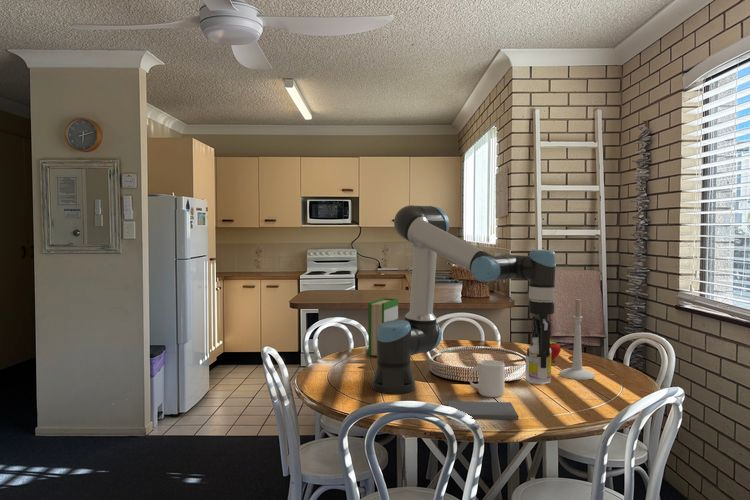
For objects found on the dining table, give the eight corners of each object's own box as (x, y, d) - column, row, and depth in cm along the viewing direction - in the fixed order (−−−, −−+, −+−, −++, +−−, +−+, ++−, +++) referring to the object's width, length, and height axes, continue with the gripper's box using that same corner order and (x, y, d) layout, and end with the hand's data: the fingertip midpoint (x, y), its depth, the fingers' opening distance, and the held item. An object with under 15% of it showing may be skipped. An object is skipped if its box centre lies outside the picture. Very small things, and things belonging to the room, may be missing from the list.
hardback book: (383, 358, 248) (384, 303, 247) (368, 356, 251) (368, 302, 250) (397, 350, 265) (398, 298, 264) (383, 349, 267) (383, 298, 267)
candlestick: (570, 380, 212) (571, 300, 211) (553, 372, 225) (554, 296, 224) (601, 379, 215) (603, 299, 213) (582, 370, 227) (584, 296, 226)
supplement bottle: (546, 376, 179) (547, 336, 178) (553, 382, 172) (555, 340, 171) (525, 376, 178) (526, 336, 178) (532, 382, 172) (533, 340, 171)
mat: (450, 417, 170) (450, 413, 170) (447, 404, 183) (447, 400, 183) (518, 419, 168) (518, 415, 168) (510, 406, 181) (510, 402, 181)
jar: (538, 386, 205) (538, 352, 204) (521, 380, 212) (521, 348, 211) (554, 382, 210) (555, 350, 209) (537, 377, 217) (537, 346, 216)
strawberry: (561, 363, 240) (562, 339, 240) (543, 362, 241) (543, 338, 241) (559, 359, 246) (559, 336, 246) (541, 359, 247) (541, 336, 247)
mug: (470, 388, 201) (470, 358, 201) (504, 391, 198) (505, 360, 197) (467, 395, 193) (467, 364, 192) (503, 398, 190) (503, 366, 189)
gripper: (562, 305, 164) (560, 384, 165) (546, 296, 184) (544, 367, 185) (535, 304, 165) (533, 383, 166) (523, 296, 184) (521, 366, 185)
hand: (539, 374), depth 175 cm, fingers closed on supplement bottle, 7 cm apart
